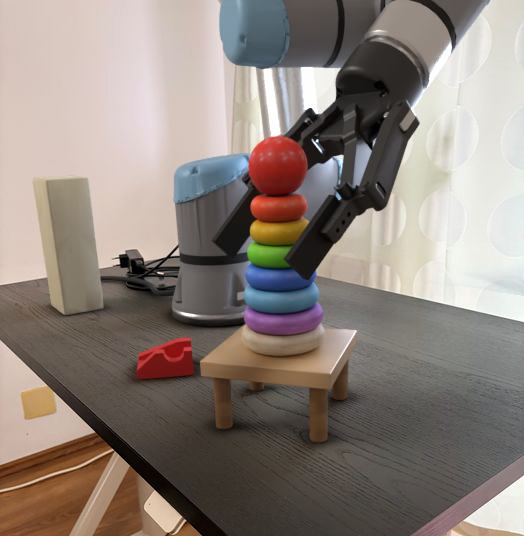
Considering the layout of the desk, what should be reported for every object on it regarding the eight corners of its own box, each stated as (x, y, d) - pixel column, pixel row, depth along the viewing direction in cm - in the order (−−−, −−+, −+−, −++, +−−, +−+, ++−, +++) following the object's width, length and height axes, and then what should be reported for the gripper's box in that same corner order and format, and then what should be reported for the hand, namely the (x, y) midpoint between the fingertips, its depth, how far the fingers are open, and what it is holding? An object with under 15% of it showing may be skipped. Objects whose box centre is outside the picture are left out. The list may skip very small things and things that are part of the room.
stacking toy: (230, 338, 58) (218, 138, 52) (303, 326, 61) (300, 135, 54) (259, 364, 51) (250, 137, 45) (340, 350, 54) (342, 133, 47)
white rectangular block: (109, 307, 97) (92, 176, 90) (65, 316, 93) (43, 179, 86) (93, 298, 103) (76, 174, 96) (51, 305, 100) (30, 177, 92)
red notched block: (192, 360, 73) (190, 337, 72) (193, 374, 68) (191, 350, 67) (140, 364, 72) (137, 341, 71) (137, 379, 67) (134, 355, 66)
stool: (205, 430, 55) (199, 361, 53) (249, 381, 66) (246, 322, 63) (330, 447, 51) (330, 373, 49) (356, 393, 62) (357, 329, 59)
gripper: (519, 91, 47) (369, 311, 44) (330, 108, 66) (218, 263, 63) (482, 11, 42) (314, 251, 40) (291, 54, 61) (169, 218, 59)
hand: (255, 259), depth 52 cm, fingers open, 11 cm apart
